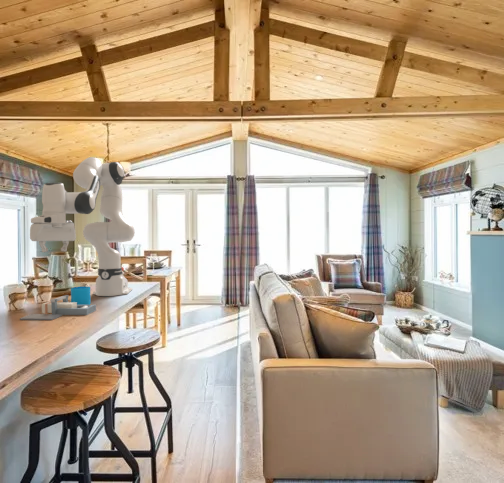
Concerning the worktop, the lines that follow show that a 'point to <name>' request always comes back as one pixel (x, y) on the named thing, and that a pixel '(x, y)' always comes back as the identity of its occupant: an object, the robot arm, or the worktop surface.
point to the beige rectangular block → (48, 309)
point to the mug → (81, 295)
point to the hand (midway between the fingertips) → (54, 251)
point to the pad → (41, 317)
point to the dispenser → (71, 311)
